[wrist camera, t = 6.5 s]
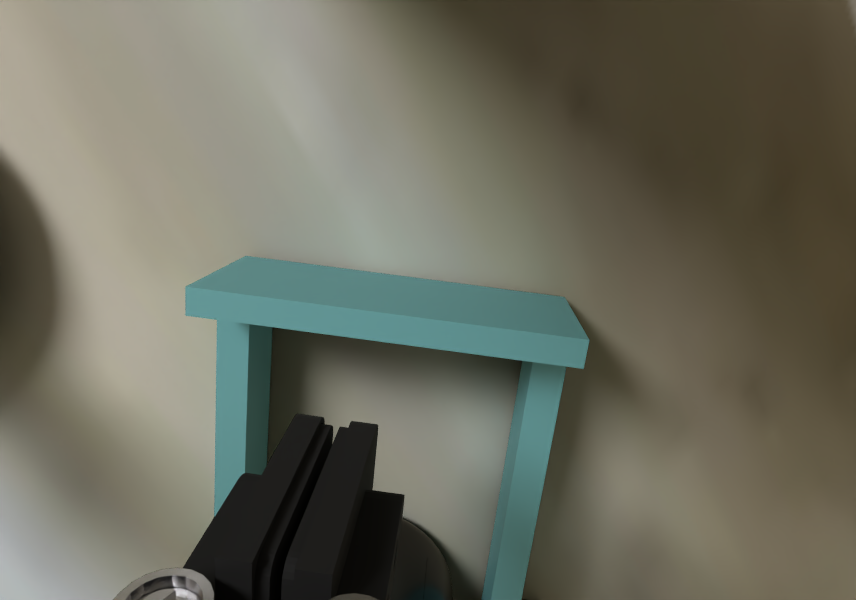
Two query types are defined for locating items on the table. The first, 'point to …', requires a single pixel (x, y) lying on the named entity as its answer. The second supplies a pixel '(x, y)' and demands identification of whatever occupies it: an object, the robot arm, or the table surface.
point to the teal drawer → (400, 324)
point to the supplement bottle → (420, 568)
